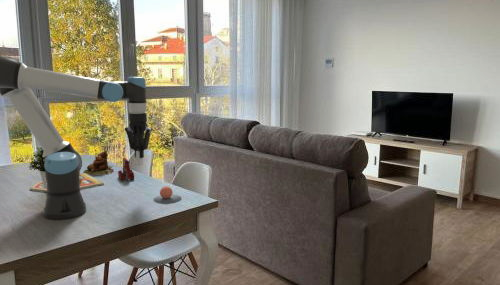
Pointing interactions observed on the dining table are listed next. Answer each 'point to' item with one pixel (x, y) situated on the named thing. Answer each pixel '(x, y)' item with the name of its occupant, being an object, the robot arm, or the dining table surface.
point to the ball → (166, 192)
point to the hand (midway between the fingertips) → (139, 164)
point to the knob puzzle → (84, 179)
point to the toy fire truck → (126, 171)
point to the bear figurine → (99, 165)
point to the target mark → (165, 201)
